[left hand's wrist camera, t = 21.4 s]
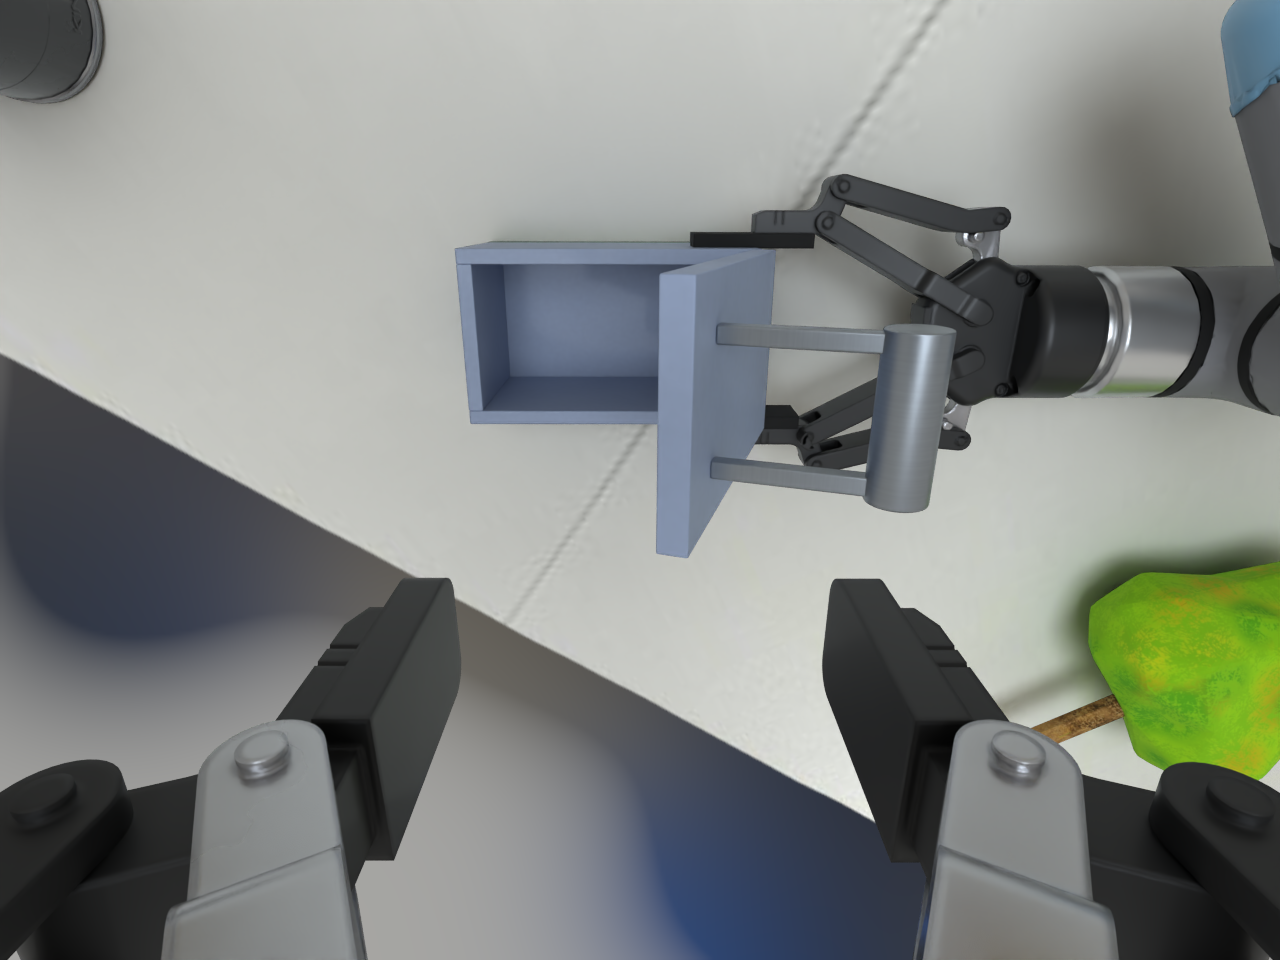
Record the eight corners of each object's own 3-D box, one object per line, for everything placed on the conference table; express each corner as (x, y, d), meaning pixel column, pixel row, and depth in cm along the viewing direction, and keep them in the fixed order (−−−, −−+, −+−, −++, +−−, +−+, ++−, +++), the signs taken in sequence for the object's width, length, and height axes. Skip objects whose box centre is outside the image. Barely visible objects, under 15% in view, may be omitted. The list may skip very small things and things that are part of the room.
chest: (501, 385, 49) (470, 424, 40) (491, 241, 45) (454, 248, 36) (730, 385, 49) (752, 425, 40) (737, 241, 45) (762, 248, 36)
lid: (655, 554, 24) (925, 595, 22) (658, 273, 21) (978, 282, 18) (743, 426, 39) (910, 442, 37) (753, 249, 36) (938, 252, 33)
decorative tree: (946, 737, 47) (1428, 533, 41) (897, 647, 57) (1281, 471, 51) (1039, 901, 53) (1480, 743, 46) (980, 793, 62) (1337, 650, 56)
